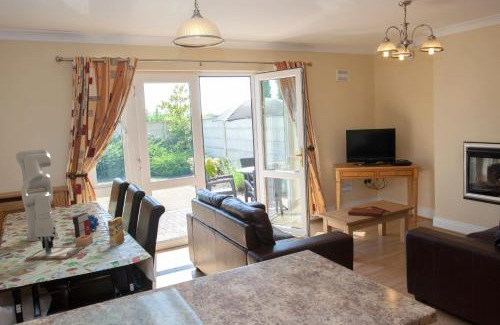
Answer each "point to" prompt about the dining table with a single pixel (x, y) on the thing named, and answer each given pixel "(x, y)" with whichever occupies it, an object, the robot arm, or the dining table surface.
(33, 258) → the clipboard
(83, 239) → the pen cup
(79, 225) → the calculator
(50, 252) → the marker
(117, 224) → the candy box
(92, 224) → the grapes
